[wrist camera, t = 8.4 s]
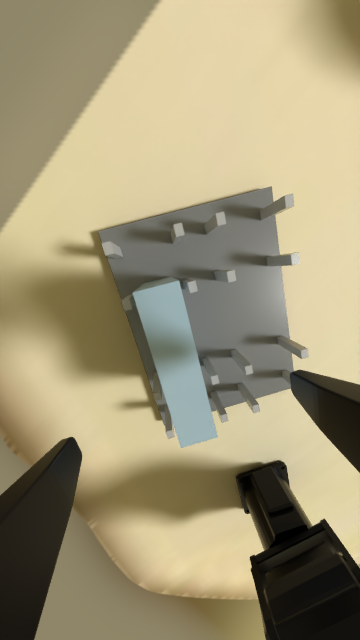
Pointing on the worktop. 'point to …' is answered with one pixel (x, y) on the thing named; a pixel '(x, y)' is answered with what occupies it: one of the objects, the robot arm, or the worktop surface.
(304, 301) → the worktop surface
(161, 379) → the light blue rectangular slab
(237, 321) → the dish rack
